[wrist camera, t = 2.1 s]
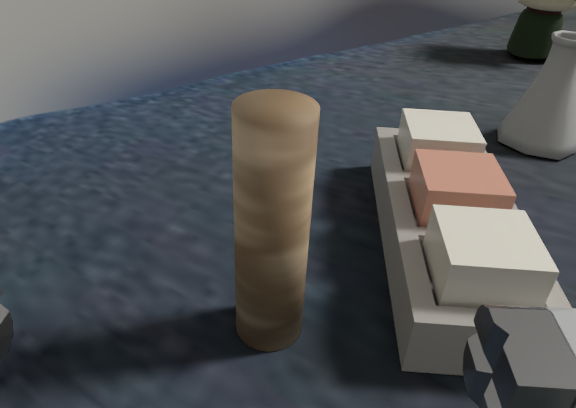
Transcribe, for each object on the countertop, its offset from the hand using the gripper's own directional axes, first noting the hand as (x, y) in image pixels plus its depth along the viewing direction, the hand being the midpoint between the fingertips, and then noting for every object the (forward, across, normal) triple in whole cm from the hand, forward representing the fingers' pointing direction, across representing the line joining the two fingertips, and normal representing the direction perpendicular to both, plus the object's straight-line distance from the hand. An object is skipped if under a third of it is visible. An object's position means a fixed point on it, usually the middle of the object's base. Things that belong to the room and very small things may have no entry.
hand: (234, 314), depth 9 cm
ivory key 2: (+15, -11, +12) cm, 22 cm away
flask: (+38, -22, +15) cm, 47 cm away
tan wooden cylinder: (+13, 0, +15) cm, 20 cm away
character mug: (+64, -31, +15) cm, 73 cm away
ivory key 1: (+28, -11, +12) cm, 32 cm away
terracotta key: (+21, -11, +12) cm, 27 cm away
